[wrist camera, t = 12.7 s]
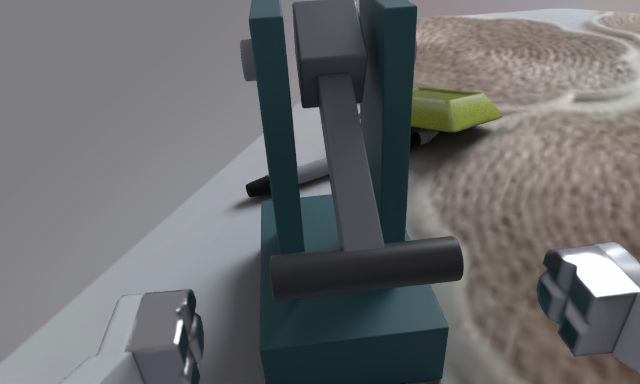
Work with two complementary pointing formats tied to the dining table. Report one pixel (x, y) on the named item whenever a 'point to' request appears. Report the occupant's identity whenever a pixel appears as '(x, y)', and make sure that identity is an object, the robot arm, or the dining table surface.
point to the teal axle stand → (320, 223)
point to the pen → (321, 166)
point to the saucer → (450, 109)
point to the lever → (349, 173)
